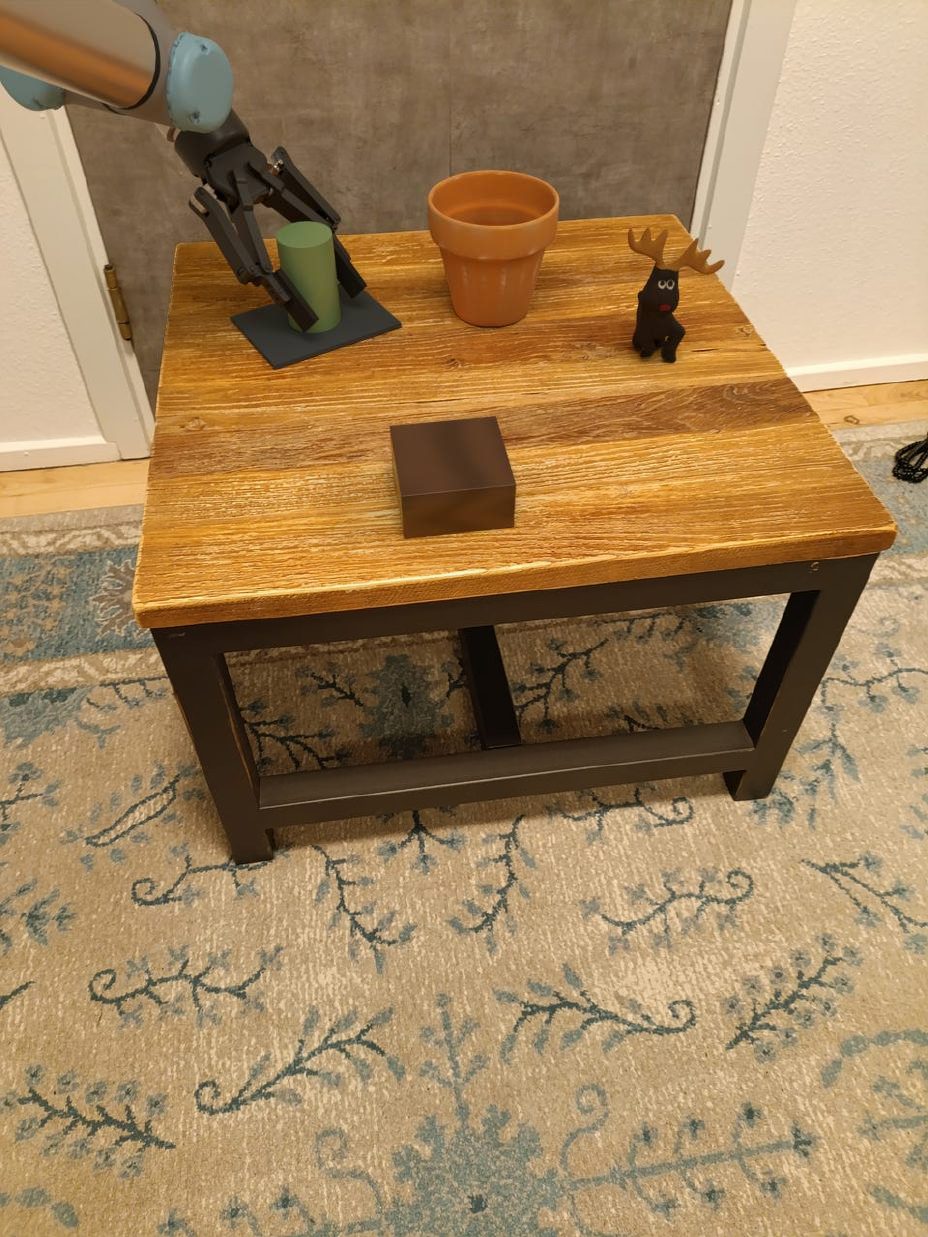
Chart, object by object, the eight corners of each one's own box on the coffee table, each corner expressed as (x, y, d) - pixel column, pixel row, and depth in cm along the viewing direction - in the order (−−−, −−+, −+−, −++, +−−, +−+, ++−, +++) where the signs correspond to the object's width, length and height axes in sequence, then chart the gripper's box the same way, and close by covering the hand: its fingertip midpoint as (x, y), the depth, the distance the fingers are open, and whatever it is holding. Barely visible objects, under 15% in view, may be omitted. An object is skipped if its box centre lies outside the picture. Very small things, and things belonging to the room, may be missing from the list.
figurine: (612, 371, 97) (631, 236, 86) (604, 336, 102) (622, 203, 90) (709, 371, 97) (741, 236, 86) (697, 335, 102) (726, 202, 90)
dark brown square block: (404, 538, 80) (401, 496, 76) (392, 468, 86) (389, 425, 82) (514, 527, 81) (516, 484, 77) (494, 457, 87) (495, 415, 83)
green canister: (303, 338, 100) (290, 252, 93) (280, 315, 103) (266, 229, 96) (350, 323, 102) (341, 237, 95) (326, 300, 106) (316, 216, 98)
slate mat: (274, 370, 97) (273, 365, 97) (230, 320, 104) (229, 316, 103) (401, 327, 103) (401, 322, 102) (352, 283, 109) (352, 278, 109)
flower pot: (430, 278, 110) (427, 169, 100) (545, 277, 110) (553, 168, 101) (430, 341, 101) (427, 227, 91) (555, 339, 101) (565, 226, 91)
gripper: (251, 114, 102) (374, 285, 109) (113, 178, 91) (260, 365, 97) (279, 70, 96) (408, 254, 103) (135, 134, 85) (290, 336, 91)
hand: (336, 308), depth 100 cm, fingers open, 8 cm apart
